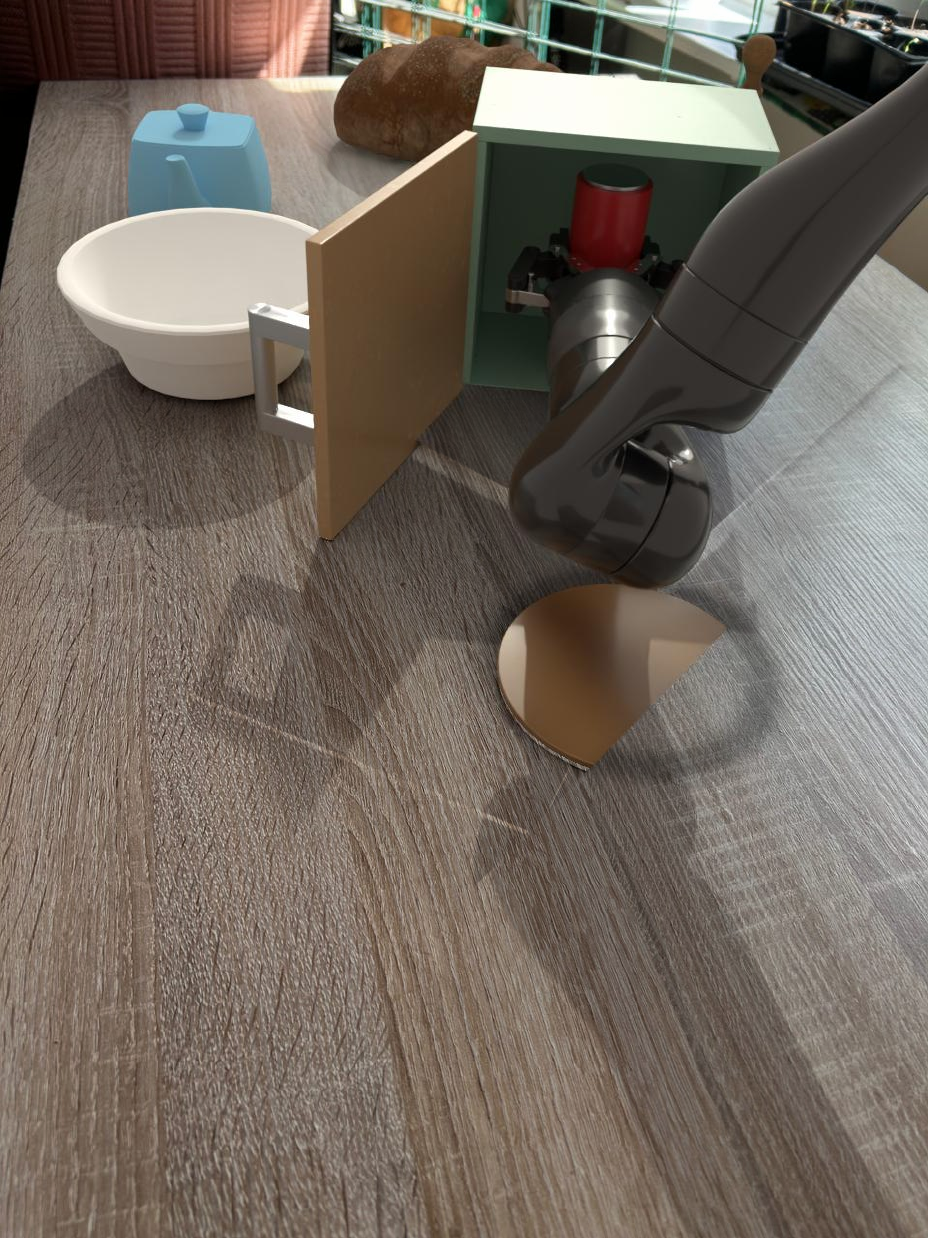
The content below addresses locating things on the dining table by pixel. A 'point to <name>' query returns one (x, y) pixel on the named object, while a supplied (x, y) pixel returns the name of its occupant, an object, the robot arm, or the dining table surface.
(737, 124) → the green cabinet
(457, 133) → the bread
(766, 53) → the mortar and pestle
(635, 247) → the can
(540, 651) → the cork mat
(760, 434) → the dining table surface
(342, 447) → the wooden cabinet door
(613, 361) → the robot arm
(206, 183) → the teapot
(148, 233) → the bowl
